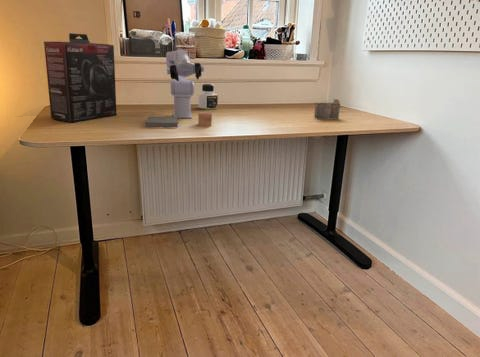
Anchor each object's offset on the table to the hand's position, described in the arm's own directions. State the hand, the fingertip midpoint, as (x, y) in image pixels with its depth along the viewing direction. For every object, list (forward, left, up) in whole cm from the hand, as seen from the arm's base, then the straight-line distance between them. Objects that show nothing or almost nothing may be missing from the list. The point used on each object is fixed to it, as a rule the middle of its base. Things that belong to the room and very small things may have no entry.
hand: (187, 77), depth 147 cm
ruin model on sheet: (-23, +66, -19) cm, 72 cm away
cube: (-3, +7, -19) cm, 20 cm away
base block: (-3, -10, -19) cm, 22 cm away
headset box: (-16, -42, -19) cm, 49 cm away
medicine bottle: (-47, +11, -19) cm, 51 cm away
